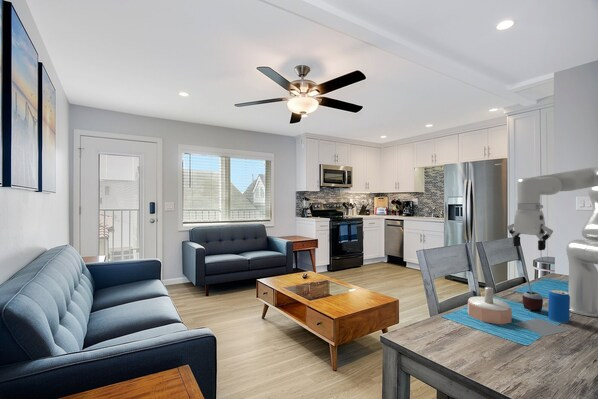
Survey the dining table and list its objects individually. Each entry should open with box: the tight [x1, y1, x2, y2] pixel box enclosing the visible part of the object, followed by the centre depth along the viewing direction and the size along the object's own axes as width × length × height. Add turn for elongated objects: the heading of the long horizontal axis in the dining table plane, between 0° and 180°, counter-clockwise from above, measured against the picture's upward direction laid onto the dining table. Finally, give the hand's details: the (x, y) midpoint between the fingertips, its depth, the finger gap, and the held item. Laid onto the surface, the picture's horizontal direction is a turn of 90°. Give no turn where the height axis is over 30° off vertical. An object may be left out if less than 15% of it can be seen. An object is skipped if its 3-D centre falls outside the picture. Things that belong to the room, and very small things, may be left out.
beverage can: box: [547, 289, 570, 324], centre depth 121 cm, size 6×6×12 cm
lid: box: [468, 286, 511, 311], centre depth 124 cm, size 14×14×7 cm
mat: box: [513, 317, 571, 337], centre depth 115 cm, size 15×11×1 cm
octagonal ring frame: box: [467, 298, 513, 325], centre depth 124 cm, size 15×15×6 cm
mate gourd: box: [521, 274, 544, 313], centre depth 132 cm, size 8×8×15 cm
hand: (528, 247), depth 125 cm, fingers open, 9 cm apart
